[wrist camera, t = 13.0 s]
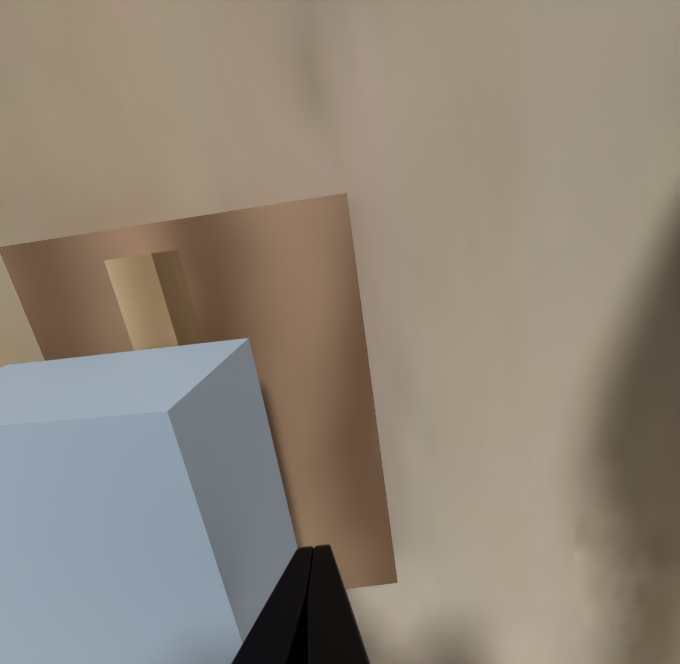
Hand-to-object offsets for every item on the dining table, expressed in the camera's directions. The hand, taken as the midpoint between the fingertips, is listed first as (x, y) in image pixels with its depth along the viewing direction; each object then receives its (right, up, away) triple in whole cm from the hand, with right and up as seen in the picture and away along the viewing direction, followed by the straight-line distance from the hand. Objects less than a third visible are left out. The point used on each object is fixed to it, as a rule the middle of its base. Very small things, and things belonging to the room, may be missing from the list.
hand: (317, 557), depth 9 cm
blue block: (-2, 0, +2) cm, 2 cm away
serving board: (-4, +1, +7) cm, 8 cm away
